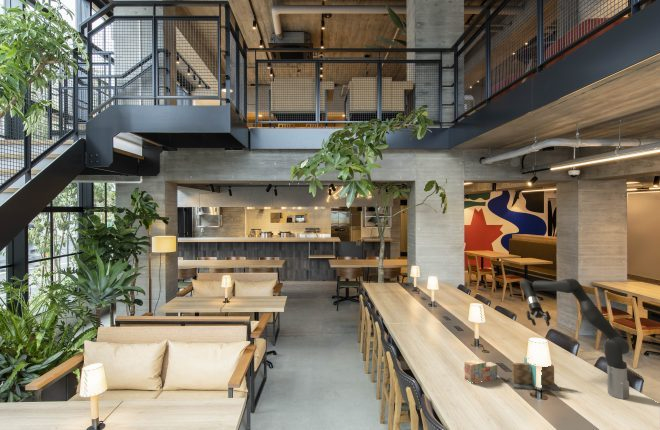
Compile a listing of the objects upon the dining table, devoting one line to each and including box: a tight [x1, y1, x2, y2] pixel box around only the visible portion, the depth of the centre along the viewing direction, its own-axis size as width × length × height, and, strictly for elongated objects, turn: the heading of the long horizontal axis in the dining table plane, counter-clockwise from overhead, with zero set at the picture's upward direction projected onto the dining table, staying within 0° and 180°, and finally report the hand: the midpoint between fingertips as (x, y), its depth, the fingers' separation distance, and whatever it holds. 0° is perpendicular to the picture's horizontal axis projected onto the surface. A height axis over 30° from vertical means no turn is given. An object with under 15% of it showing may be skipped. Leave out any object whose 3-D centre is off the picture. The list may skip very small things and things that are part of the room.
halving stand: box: [506, 362, 561, 392], centre depth 231 cm, size 27×12×13 cm, turn 82°
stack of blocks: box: [463, 358, 498, 383], centre depth 240 cm, size 21×6×12 cm, turn 109°
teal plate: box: [523, 357, 542, 387], centre depth 231 cm, size 20×2×12 cm, turn 172°
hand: (541, 325), depth 248 cm, fingers open, 8 cm apart
